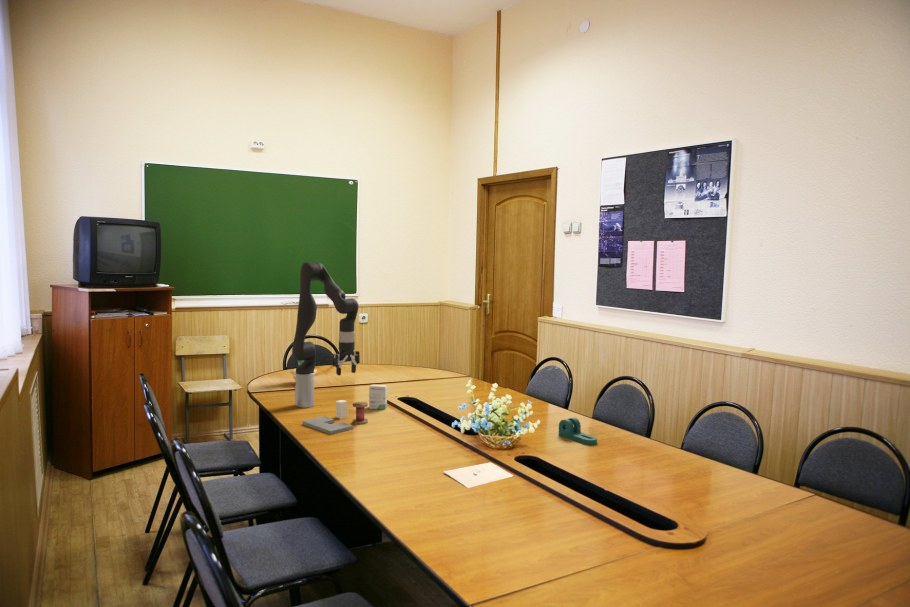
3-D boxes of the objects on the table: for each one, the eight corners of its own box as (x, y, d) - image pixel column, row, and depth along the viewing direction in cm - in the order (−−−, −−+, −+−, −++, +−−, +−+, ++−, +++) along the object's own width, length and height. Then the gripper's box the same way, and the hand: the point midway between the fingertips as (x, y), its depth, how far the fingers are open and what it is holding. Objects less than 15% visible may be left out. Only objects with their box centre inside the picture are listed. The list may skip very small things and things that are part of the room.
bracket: (558, 435, 267) (559, 418, 266) (568, 433, 271) (569, 416, 270) (589, 446, 253) (590, 428, 252) (600, 443, 257) (600, 425, 256)
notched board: (302, 424, 277) (302, 421, 277) (324, 419, 286) (324, 416, 286) (331, 434, 262) (331, 431, 262) (352, 428, 271) (352, 425, 271)
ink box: (368, 409, 306) (368, 386, 305) (371, 406, 311) (371, 384, 310) (385, 409, 305) (385, 386, 304) (387, 407, 310) (387, 384, 309)
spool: (349, 422, 282) (349, 403, 281) (361, 419, 287) (361, 400, 286) (358, 425, 277) (358, 406, 276) (370, 422, 282) (370, 403, 281)
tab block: (335, 417, 290) (335, 401, 289) (342, 415, 293) (342, 399, 292) (340, 419, 287) (340, 402, 286) (347, 417, 290) (347, 401, 289)
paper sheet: (496, 463, 231) (496, 460, 231) (538, 493, 205) (538, 490, 205) (441, 472, 220) (441, 469, 220) (478, 504, 194) (478, 501, 194)
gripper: (353, 338, 292) (353, 370, 293) (329, 340, 281) (329, 374, 283) (363, 340, 287) (362, 373, 288) (339, 343, 276) (338, 377, 278)
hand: (346, 373), depth 286 cm, fingers open, 8 cm apart
